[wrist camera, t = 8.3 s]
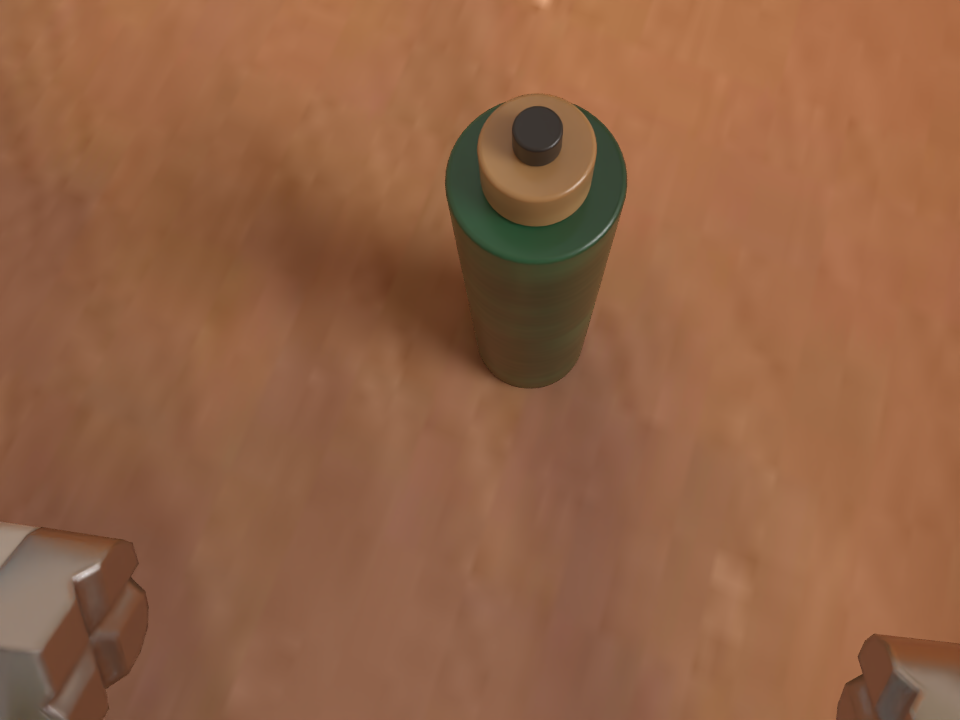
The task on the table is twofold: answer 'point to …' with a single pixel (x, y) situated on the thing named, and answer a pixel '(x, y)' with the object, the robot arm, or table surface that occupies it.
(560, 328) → the green capped cylinder
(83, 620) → the robot arm
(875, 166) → the table surface
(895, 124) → the table surface
